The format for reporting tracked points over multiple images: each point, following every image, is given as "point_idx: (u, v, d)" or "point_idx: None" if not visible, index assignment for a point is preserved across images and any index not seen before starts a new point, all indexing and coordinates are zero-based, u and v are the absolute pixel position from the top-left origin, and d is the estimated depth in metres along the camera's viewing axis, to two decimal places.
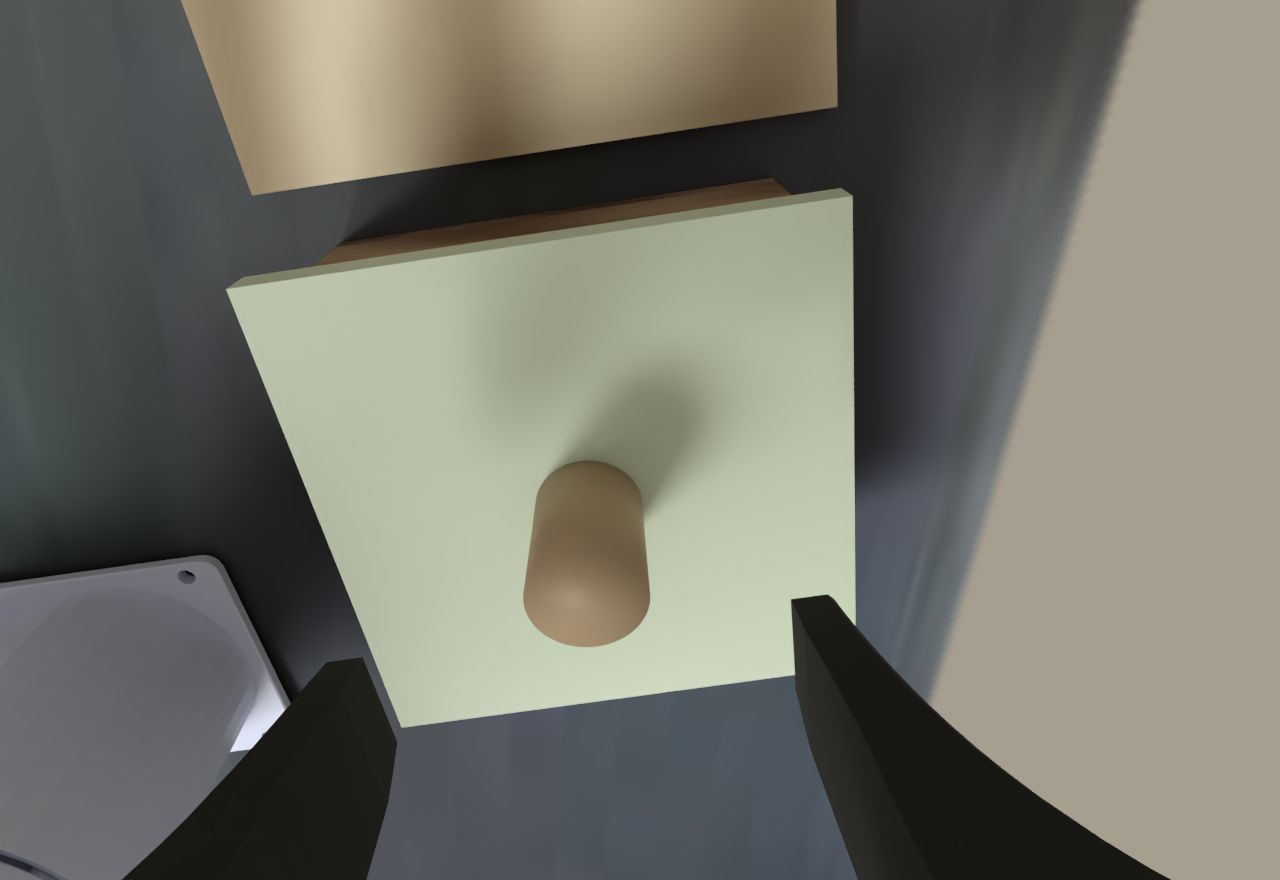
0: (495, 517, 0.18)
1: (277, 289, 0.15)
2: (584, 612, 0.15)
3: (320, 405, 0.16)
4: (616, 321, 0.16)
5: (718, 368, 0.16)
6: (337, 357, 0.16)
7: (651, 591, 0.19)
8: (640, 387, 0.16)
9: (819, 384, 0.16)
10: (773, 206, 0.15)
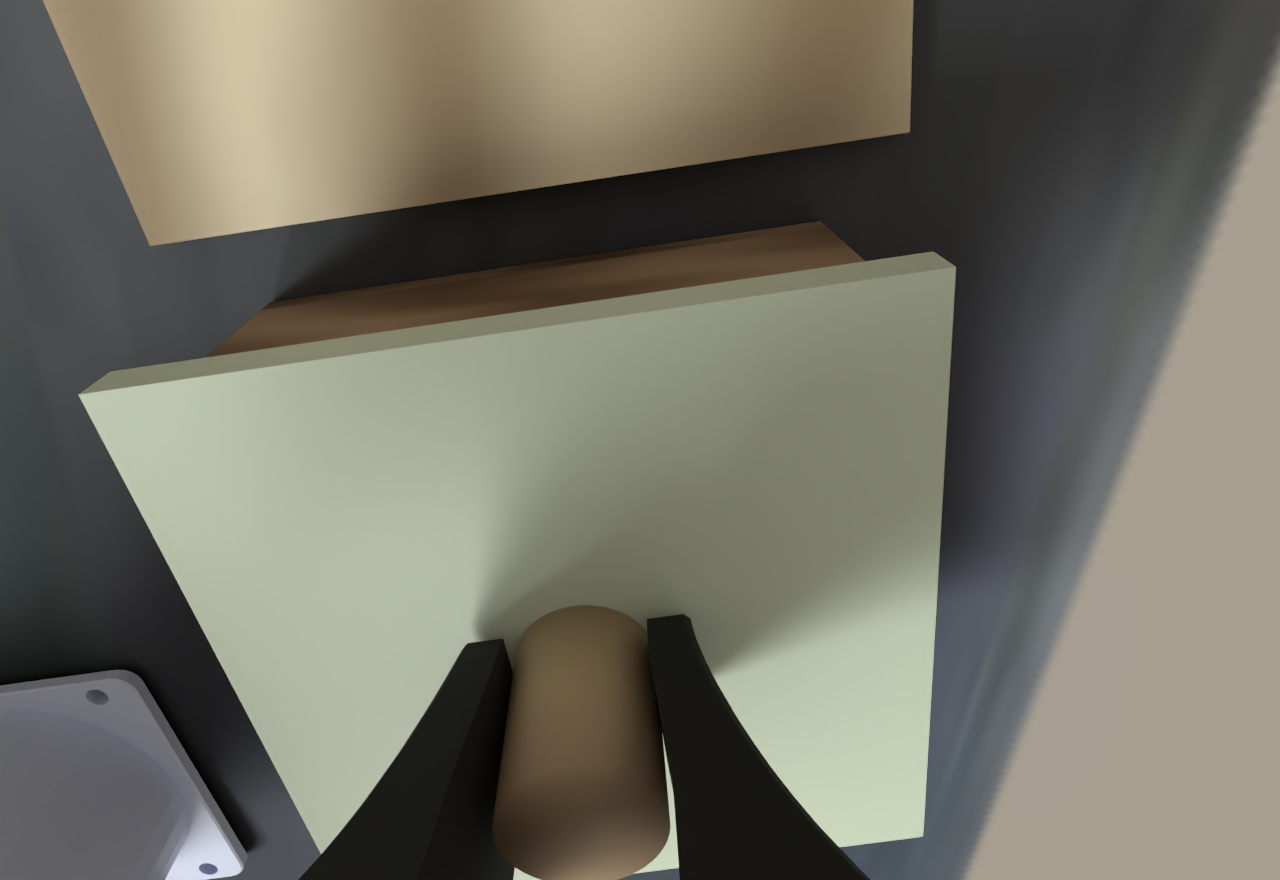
0: None
1: (151, 394, 0.11)
2: (578, 845, 0.11)
3: (221, 541, 0.12)
4: (624, 433, 0.11)
5: (760, 491, 0.12)
6: (240, 481, 0.11)
7: (666, 756, 0.15)
8: (654, 515, 0.12)
9: (896, 510, 0.12)
10: (843, 280, 0.10)
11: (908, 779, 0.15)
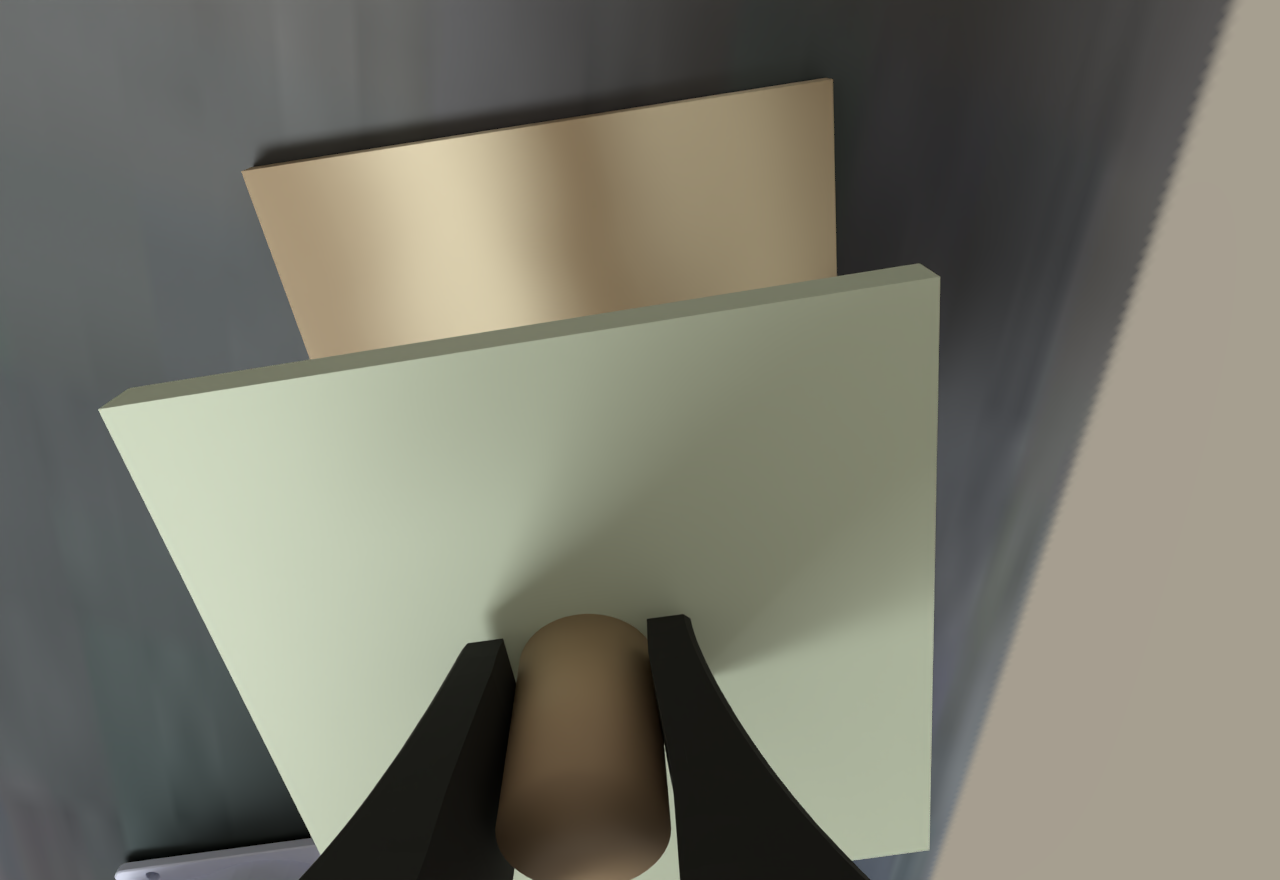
0: None
1: (168, 408, 0.11)
2: (580, 849, 0.11)
3: (233, 552, 0.12)
4: (622, 442, 0.12)
5: (757, 498, 0.12)
6: (251, 492, 0.12)
7: None
8: (654, 523, 0.12)
9: (890, 516, 0.12)
10: (832, 291, 0.11)
11: (912, 790, 0.15)
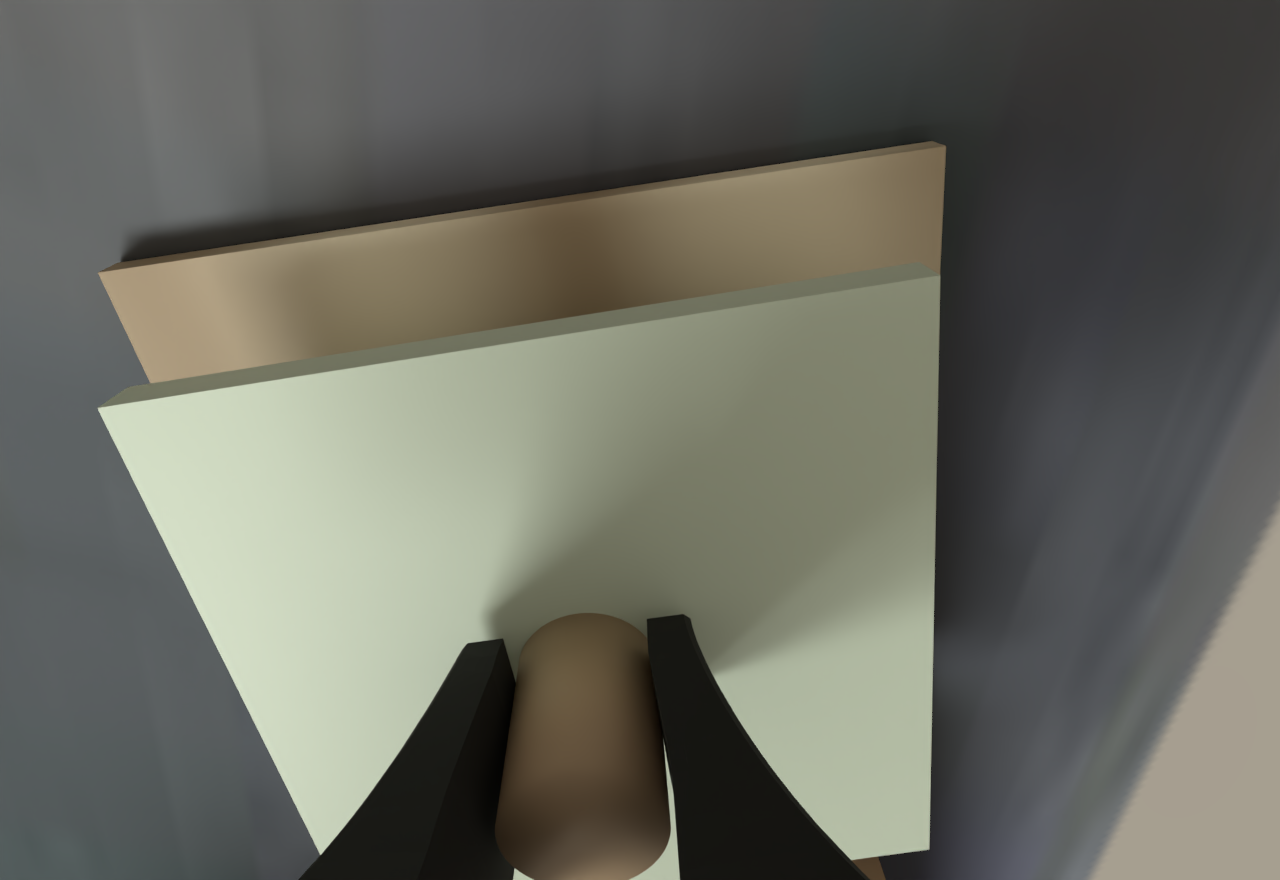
0: None
1: (167, 407, 0.11)
2: (580, 847, 0.11)
3: (232, 551, 0.12)
4: (621, 441, 0.12)
5: (757, 497, 0.12)
6: (251, 491, 0.12)
7: None
8: (653, 522, 0.12)
9: (890, 515, 0.12)
10: (832, 290, 0.11)
11: (912, 789, 0.15)
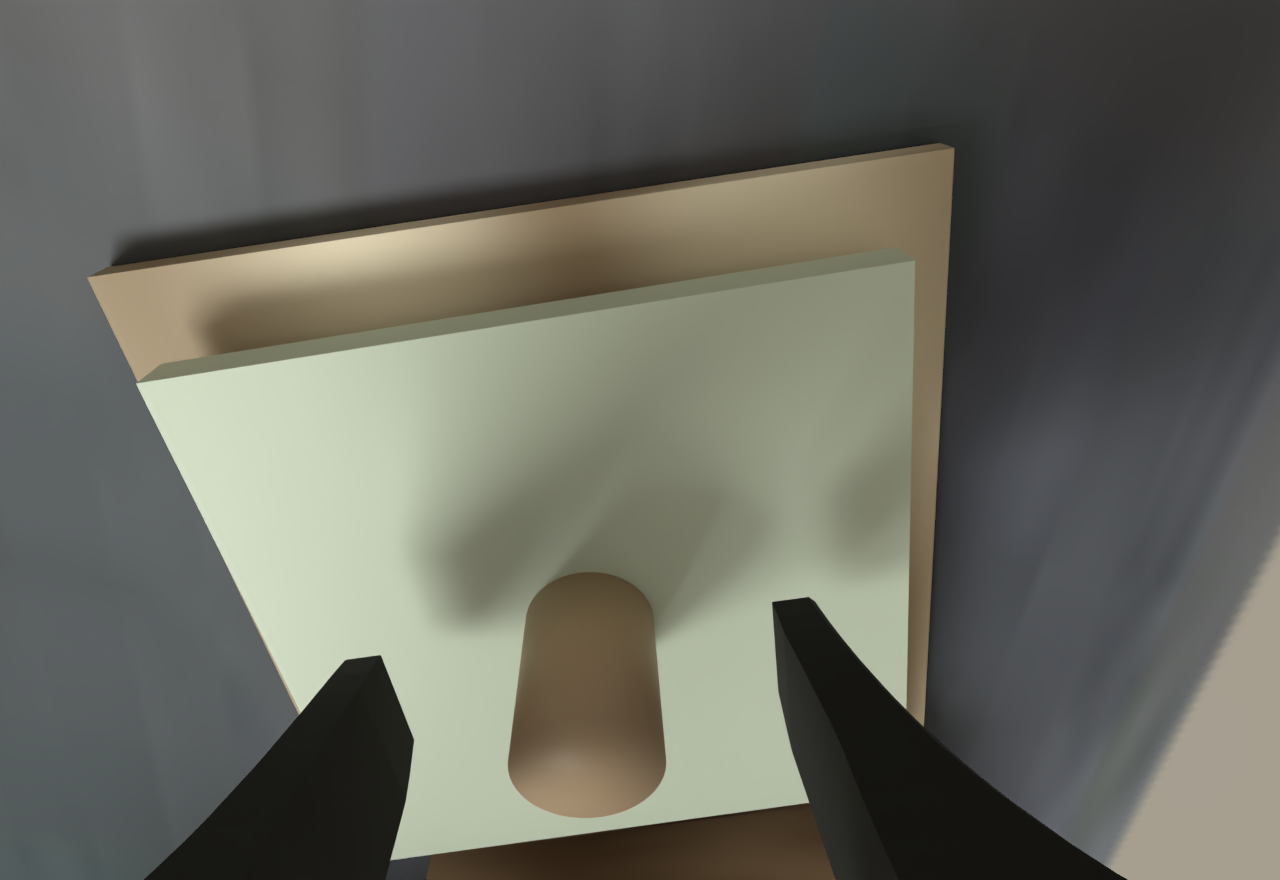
0: (478, 636, 0.15)
1: (200, 383, 0.12)
2: (584, 780, 0.12)
3: (261, 515, 0.13)
4: (621, 414, 0.13)
5: (745, 465, 0.13)
6: (278, 460, 0.13)
7: (665, 713, 0.16)
8: (650, 488, 0.13)
9: (868, 481, 0.13)
10: (815, 274, 0.12)
11: None
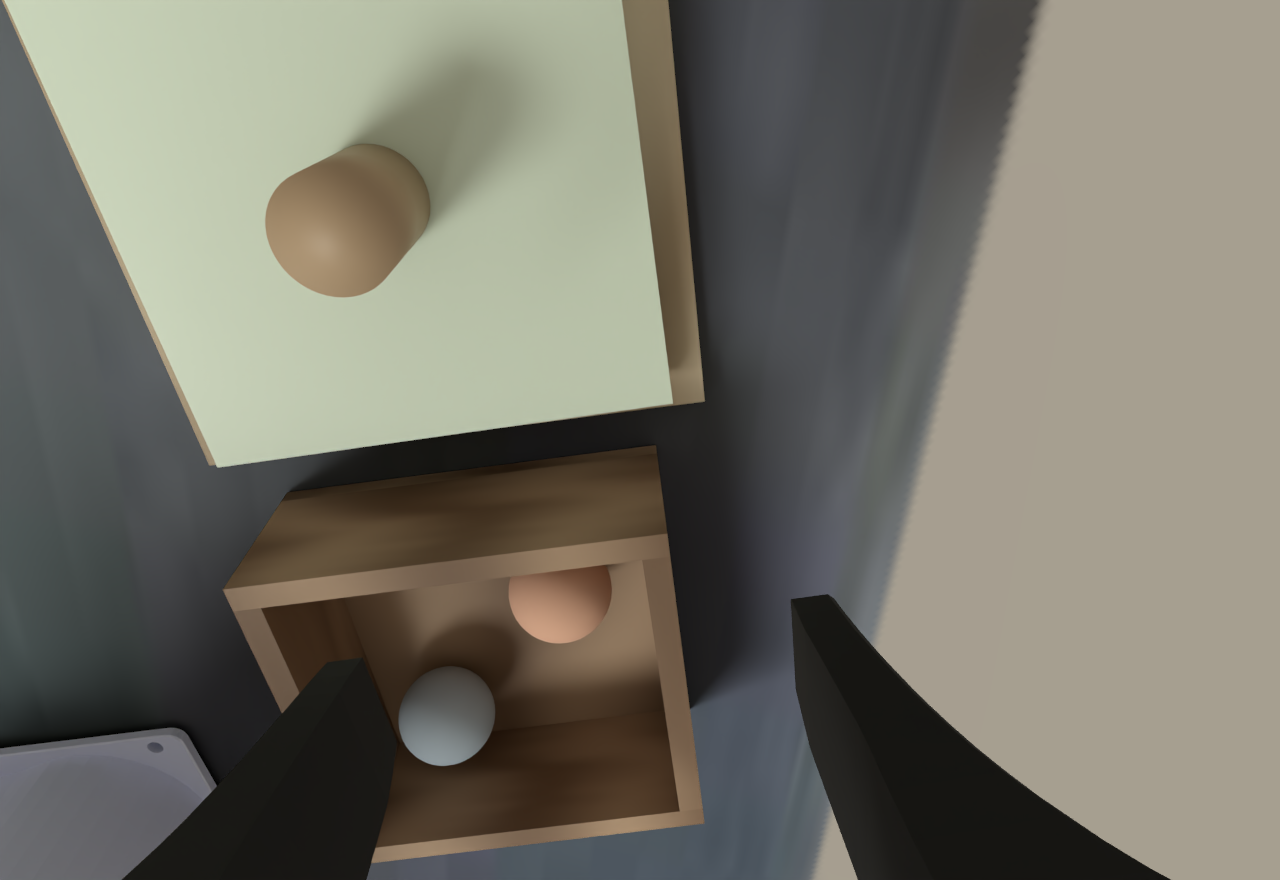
0: None
1: None
2: (332, 252, 0.15)
3: (85, 69, 0.16)
4: None
5: (487, 33, 0.16)
6: (94, 11, 0.15)
7: (452, 306, 0.19)
8: (410, 55, 0.16)
9: (593, 55, 0.16)
10: None
11: (650, 339, 0.19)
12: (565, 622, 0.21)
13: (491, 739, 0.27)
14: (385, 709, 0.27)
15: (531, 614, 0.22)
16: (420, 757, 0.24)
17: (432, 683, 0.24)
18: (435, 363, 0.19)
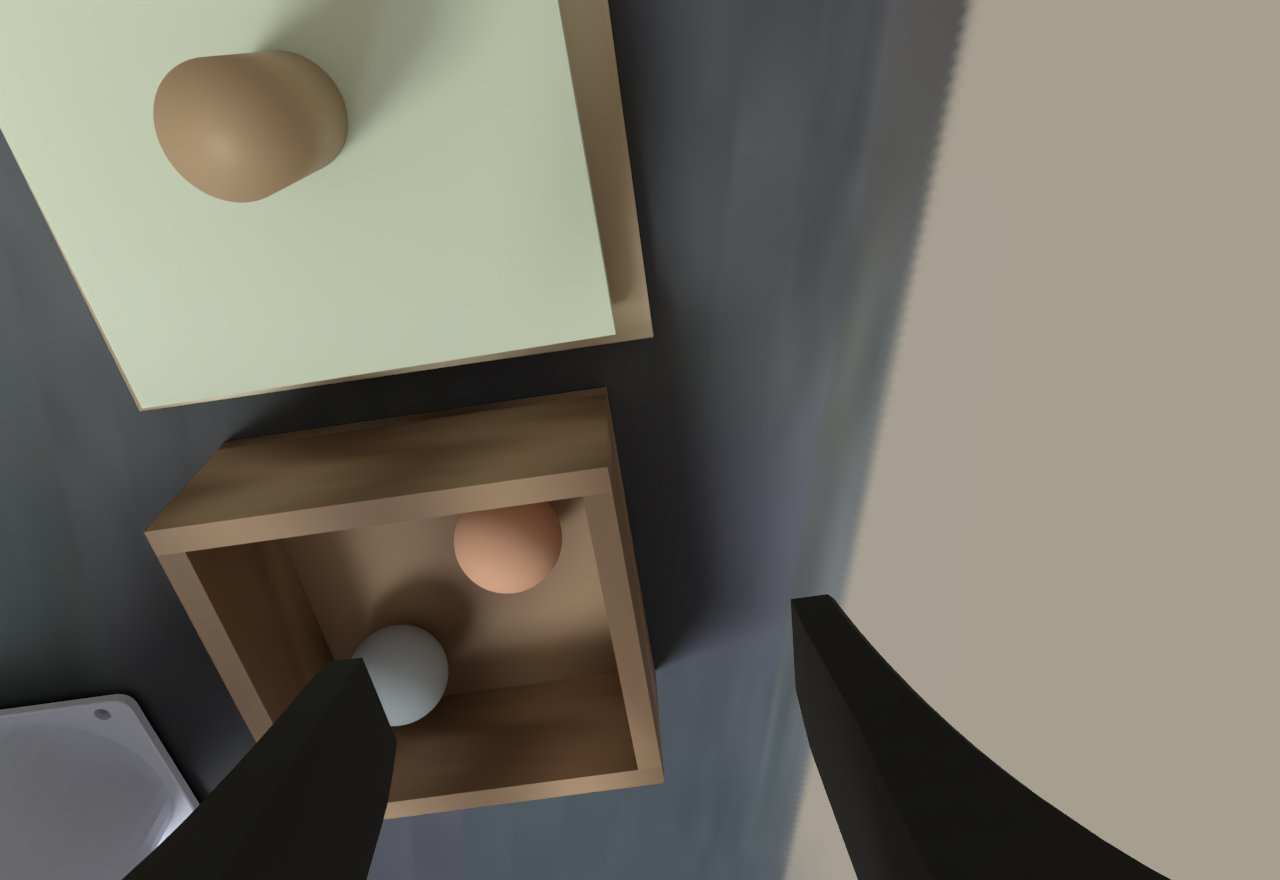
0: None
1: None
2: (227, 151, 0.14)
3: None
4: None
5: None
6: None
7: (377, 229, 0.18)
8: None
9: None
10: None
11: (588, 263, 0.18)
12: (510, 568, 0.21)
13: (448, 702, 0.26)
14: None
15: (475, 561, 0.21)
16: None
17: (381, 640, 0.23)
18: (363, 292, 0.18)
